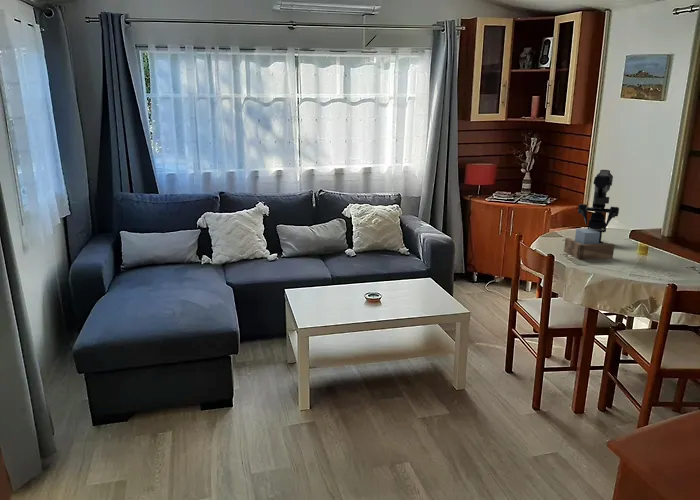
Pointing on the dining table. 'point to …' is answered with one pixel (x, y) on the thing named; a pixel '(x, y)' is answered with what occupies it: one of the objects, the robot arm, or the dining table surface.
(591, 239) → the slate block
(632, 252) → the dining table surface
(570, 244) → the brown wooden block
